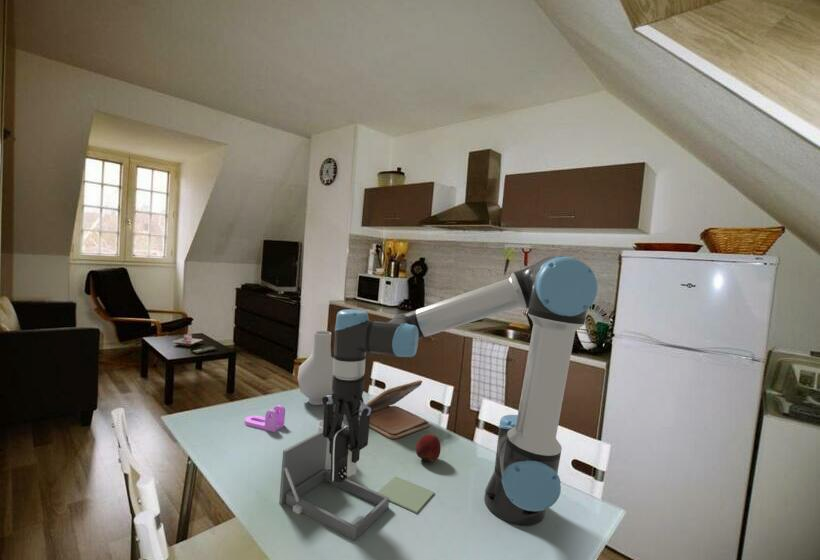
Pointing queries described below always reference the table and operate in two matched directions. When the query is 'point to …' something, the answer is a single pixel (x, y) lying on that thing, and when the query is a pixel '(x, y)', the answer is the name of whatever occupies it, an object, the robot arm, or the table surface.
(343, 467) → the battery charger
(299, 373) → the vase
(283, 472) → the case
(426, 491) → the mat
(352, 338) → the robot arm
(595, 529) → the table surface
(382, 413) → the case
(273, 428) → the bracket
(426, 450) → the apple
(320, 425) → the mug
